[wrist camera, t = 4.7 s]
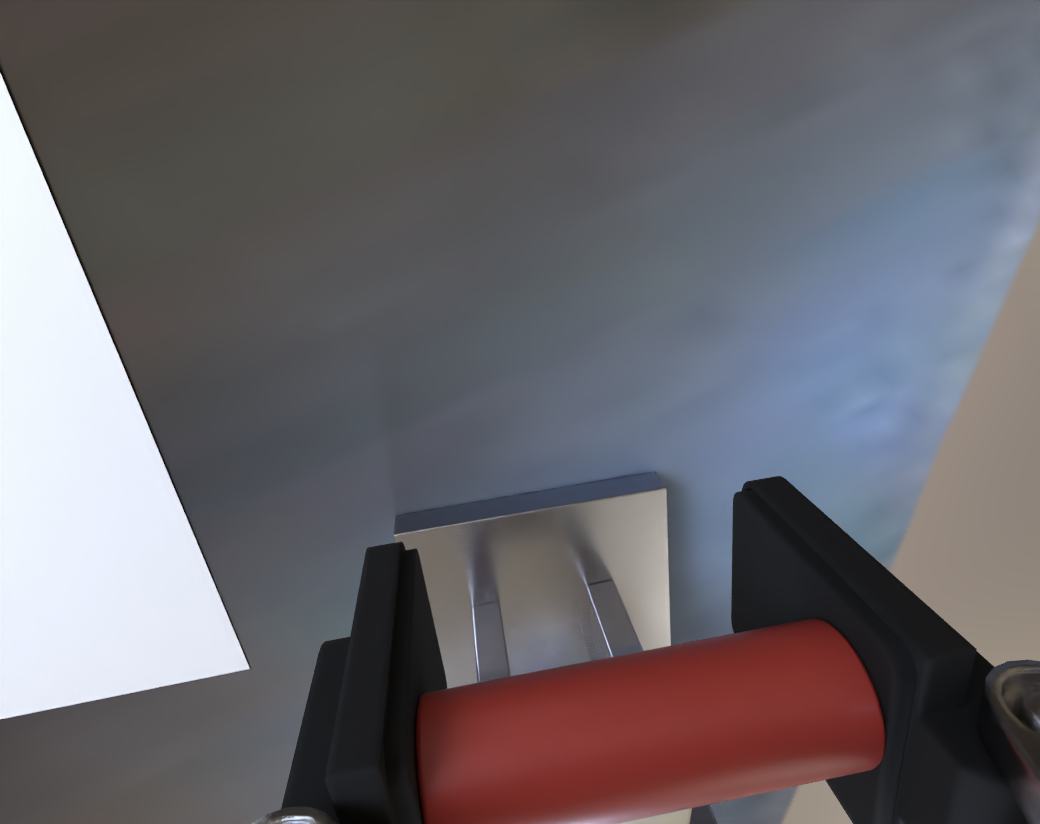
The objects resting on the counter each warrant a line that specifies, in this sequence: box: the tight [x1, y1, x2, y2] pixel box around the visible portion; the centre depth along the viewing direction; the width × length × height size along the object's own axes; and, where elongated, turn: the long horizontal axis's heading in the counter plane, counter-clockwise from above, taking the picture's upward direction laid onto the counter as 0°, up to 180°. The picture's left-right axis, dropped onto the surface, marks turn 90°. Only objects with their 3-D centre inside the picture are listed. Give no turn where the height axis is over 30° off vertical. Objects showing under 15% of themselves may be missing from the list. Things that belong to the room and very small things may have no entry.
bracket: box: [393, 472, 717, 824], centre depth 17 cm, size 11×9×13 cm
